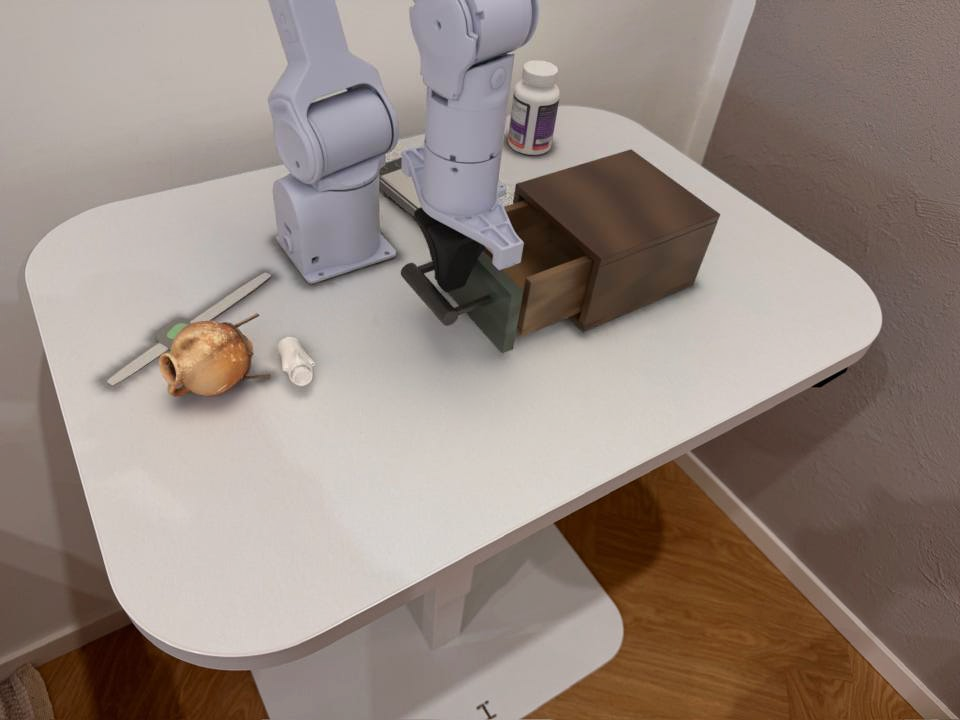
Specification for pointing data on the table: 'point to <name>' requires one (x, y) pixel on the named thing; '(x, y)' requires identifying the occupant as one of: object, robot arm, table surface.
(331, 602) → the table surface
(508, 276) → the rack drawer
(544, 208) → the cabinet
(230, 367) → the pot
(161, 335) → the strap with green oval
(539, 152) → the pill bottle
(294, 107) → the robot arm
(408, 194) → the smartphone
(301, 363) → the small white plastic part
